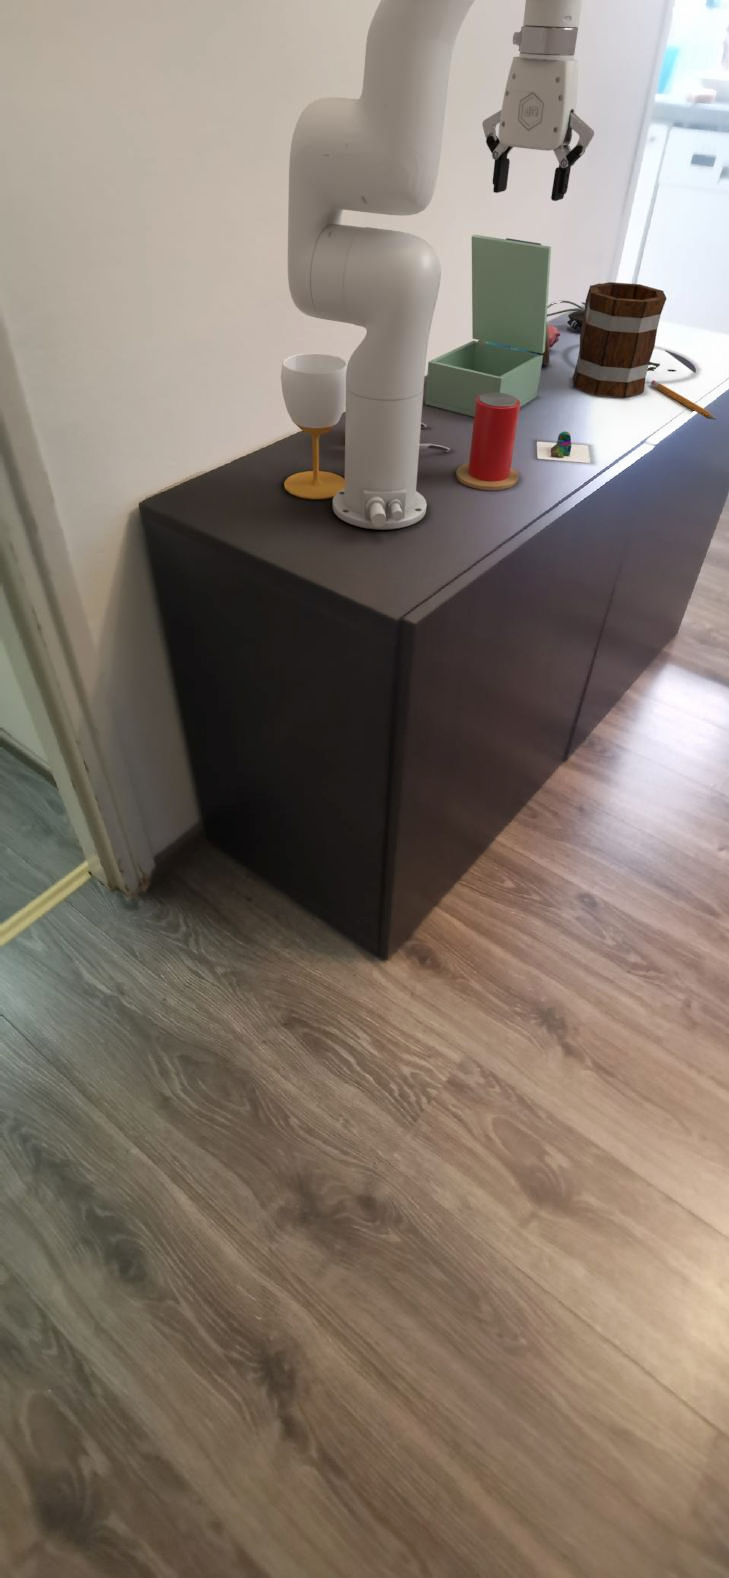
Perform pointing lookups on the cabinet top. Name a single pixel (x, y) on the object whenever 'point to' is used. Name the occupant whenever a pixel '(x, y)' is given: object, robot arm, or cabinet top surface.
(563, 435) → the small figurine
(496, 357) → the green box
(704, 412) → the pencil
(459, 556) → the cabinet top surface
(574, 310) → the loop
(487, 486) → the coaster
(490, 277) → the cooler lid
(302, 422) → the cup
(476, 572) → the cabinet top surface
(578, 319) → the toy car
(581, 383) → the wooden barrel
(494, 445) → the can
